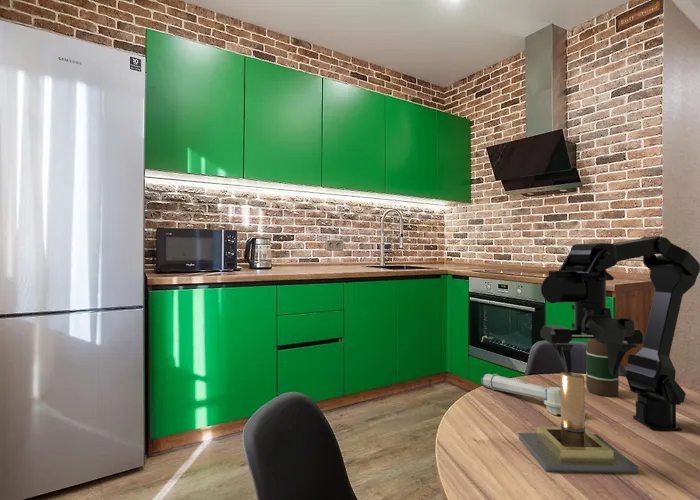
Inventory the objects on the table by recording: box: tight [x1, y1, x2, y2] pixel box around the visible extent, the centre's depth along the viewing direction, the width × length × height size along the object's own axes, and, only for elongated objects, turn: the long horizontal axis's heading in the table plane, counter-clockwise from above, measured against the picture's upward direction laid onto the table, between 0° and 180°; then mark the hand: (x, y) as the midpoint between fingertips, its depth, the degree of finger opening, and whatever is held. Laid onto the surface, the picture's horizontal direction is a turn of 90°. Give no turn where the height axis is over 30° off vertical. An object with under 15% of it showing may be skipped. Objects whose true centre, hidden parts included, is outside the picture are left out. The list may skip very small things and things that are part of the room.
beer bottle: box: [585, 306, 620, 398], centre depth 107 cm, size 8×8×24 cm
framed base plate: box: [518, 426, 639, 474], centre depth 74 cm, size 16×12×3 cm
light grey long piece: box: [480, 373, 561, 416], centre depth 102 cm, size 5×7×25 cm
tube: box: [559, 371, 586, 447], centre depth 74 cm, size 4×4×14 cm
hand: (590, 374), depth 82 cm, fingers open, 9 cm apart
